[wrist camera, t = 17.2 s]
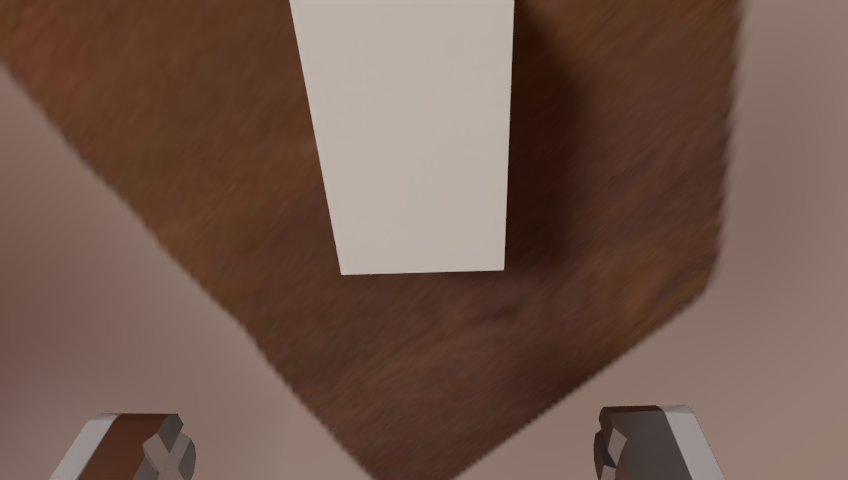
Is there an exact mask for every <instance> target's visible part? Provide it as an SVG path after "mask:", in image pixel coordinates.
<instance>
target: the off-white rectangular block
mask: <svg viewBox="0 0 848 480" xmlns="http://www.w3.org/2000/svg"><path fill="white" fill-rule="evenodd" d="M290 5H291V10H292V16H293V21H294V26H295V32H296V37H297V42H298V48H299V53H300V58H301V63H302V69H303V74H304V79H305V85H306V90H307V95H308V100H309V106H310V111H311V116H312V122H313V127H314V132H315V137H316V143H317V148H318V153H319V159H320V164H321V169H322V174H323V180H324V185H325V190H326V196H327V201H328V206H329V211H330V217H331V222H332V227H333V233H334V238H335V243H336V248H337V254H338V259H339V264H340V270H341V275H350V274H385V273H420V272H456V271H491V270H504V257H505V230H506V204H507V177H508V151H509V124H510V98H511V71H512V45H513V19H514V0H290Z"/></svg>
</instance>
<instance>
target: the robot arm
mask: <svg viewBox="0 0 848 480" xmlns="http://www.w3.org/2000/svg"><path fill="white" fill-rule="evenodd" d="M599 422H600V425H601V430H600V431H599V432H597V433H596V434H595V440H594V461H595V467H596V472H597V476H598V480H726V479H725V477H724V474H723V472H722V470H721V468H720V466H719V464H718V462H717V460H716V458H715V456H714V454H713V452H712V450H711V448H710V446H709V444H708V442H707V439H706V437H705V436H704V433H703V431H702V429H701V427H700V425H699V423H698V421H697V419H696V417H695V415H694V413H693V411H692V410H691V409H690V408H689V407H688V406H656V405H654V406H619V407H603V408H602V410H601V412H600V416H599ZM182 426H183V422H182V421H181V419H180V417H179V416H178V414H132V413H129V414H128V413H127V414H126V413H109V414H107V413H106V414H105V413H101V414H96V415H95V416H94V417H92V418H91V419H90V420H89V421H88V422H87V424H86V425H85V426H84V428H83V429H82V431H81V432H80V434H79V435H78V437H77V438H76V440H75V441H74V443H73V444H72V446H71V447H70V449H69V450H68V452H67V453H66V455H65V456H64V458H63V459H62V461H61V462H60V464H59V465H58V467H57V469H56V470H55V471H54V473H53V474H52V476H51V478H50V479H49V480H191V478H192V476H193V473H194V468H195V460H196V452H195V446H194V444H193V442H192V440H191V438H190V437H188V436H186V435H185V434H183V433H182V432H180V431H181V428H182Z"/></svg>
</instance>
